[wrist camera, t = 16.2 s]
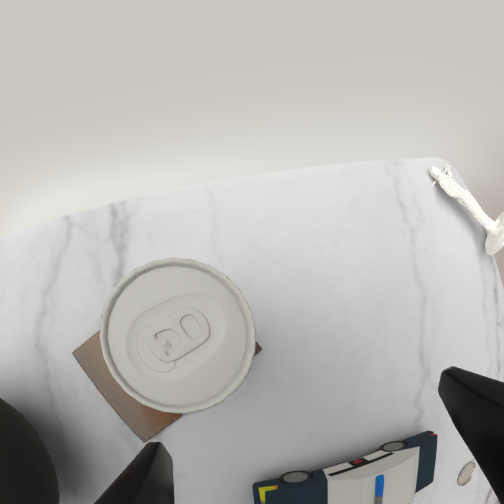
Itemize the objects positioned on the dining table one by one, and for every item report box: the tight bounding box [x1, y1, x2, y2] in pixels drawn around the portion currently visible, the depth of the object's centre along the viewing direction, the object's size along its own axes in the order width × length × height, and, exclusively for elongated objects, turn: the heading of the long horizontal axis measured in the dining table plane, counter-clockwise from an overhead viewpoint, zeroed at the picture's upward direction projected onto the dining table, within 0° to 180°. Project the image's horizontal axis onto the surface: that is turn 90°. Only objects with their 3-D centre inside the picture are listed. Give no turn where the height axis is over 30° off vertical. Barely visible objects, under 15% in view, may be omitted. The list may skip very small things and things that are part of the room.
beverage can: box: [100, 258, 256, 414], centre depth 13 cm, size 5×5×12 cm
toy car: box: [253, 431, 437, 504], centre depth 16 cm, size 5×16×5 cm, turn 94°
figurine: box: [430, 165, 504, 256], centre depth 27 cm, size 7×7×12 cm
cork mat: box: [73, 331, 262, 443], centre depth 19 cm, size 11×8×1 cm
